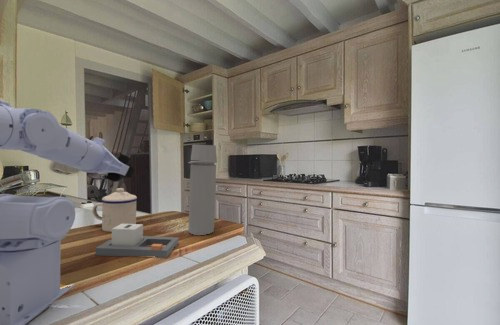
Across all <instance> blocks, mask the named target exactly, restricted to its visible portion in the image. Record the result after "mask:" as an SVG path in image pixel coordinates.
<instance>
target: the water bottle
mask: <svg viewBox="0 0 500 325" xmlns="http://www.w3.org/2000/svg"><path fill="white" fill-rule="evenodd" d="M191 146H192V147H191V155H190V161H188V162H187V163H188V164H190V167H189V168H190V169H189V170H190V173H189V201H188V202H189V205H188V206H189V207H188V209H189V210H188V212H189V213H188V233H189V234H190V233H191V234H190V235H192V234H193V235H192V236H196V235H205V236H207V235H206V234H210V233H212V232H213V233H214V232H215V218H216V217H215V216H216V215H215V213H216V211H215V210H216V209H215V208H216V182H217V181H216V180H217V165H216V164H217V163H218V161H217V160H218V159H217V145H213V144H192V145H191ZM213 233H212V234H213ZM210 235H211V234H210Z"/></svg>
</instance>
